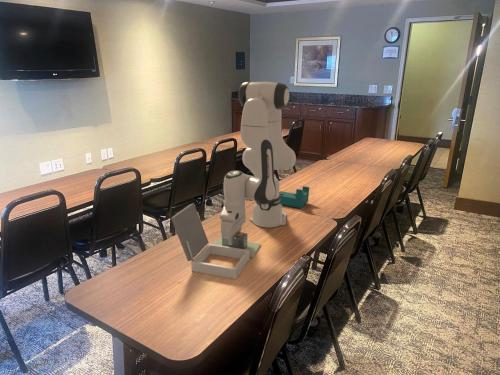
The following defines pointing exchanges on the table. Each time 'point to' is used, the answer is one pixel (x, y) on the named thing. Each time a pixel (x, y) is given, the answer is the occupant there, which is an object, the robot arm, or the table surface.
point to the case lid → (190, 230)
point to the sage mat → (250, 246)
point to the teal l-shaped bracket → (295, 197)
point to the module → (237, 241)
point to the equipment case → (217, 269)
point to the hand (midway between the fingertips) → (234, 239)
